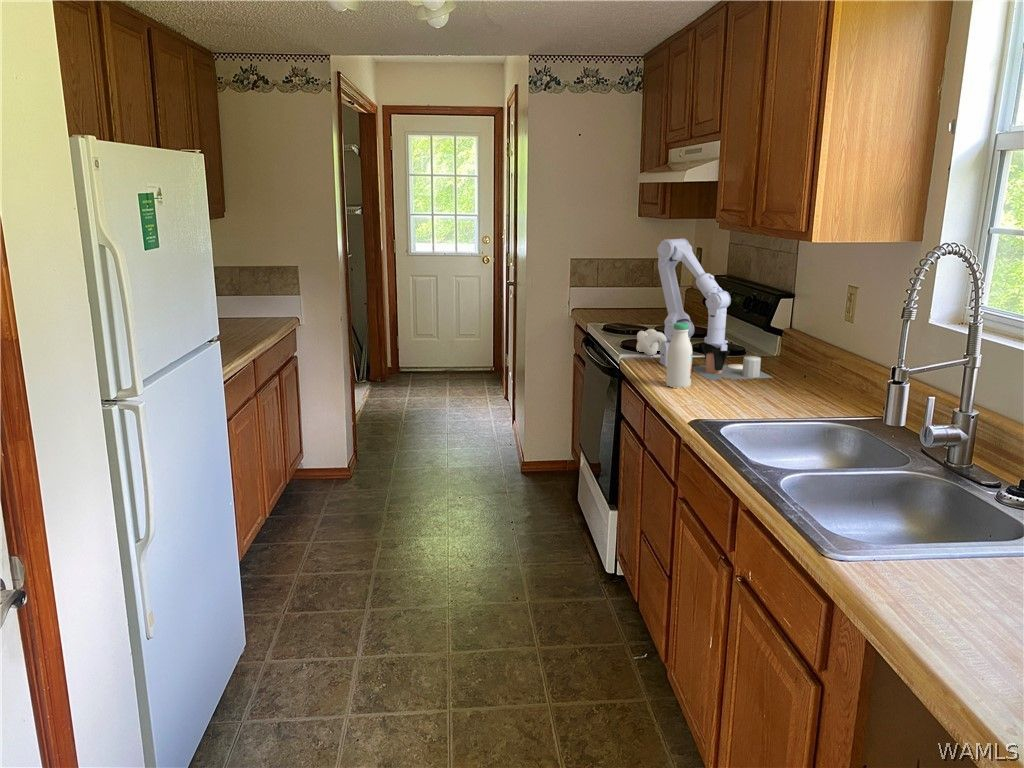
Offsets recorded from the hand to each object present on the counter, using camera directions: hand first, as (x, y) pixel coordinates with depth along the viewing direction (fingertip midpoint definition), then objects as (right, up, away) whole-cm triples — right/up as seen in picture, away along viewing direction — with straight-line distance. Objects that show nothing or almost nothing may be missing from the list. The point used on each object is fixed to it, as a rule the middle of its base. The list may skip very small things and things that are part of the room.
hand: (713, 367), depth 252 cm
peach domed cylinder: (0, -1, 0) cm, 1 cm away
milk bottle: (-16, -6, -16) cm, 24 cm away
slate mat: (+5, -2, 0) cm, 5 cm away
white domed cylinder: (+11, -3, -5) cm, 12 cm away
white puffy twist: (-15, +6, +31) cm, 35 cm away
